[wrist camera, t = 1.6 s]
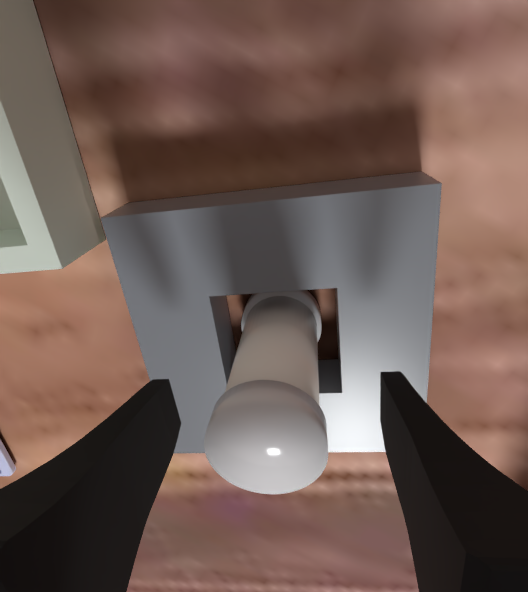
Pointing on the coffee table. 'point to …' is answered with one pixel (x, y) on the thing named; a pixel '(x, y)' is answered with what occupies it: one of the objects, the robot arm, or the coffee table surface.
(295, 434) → the cylinder
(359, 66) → the coffee table surface
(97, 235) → the parts tray
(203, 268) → the grey square frame
